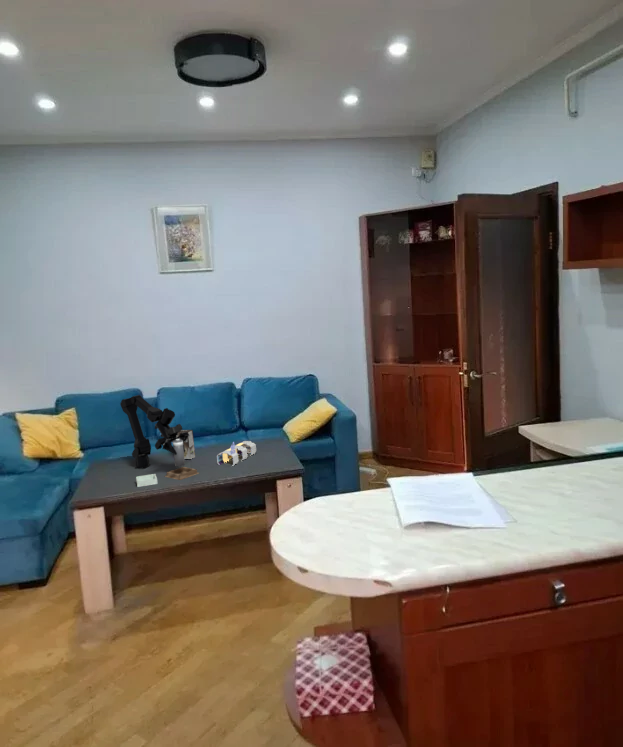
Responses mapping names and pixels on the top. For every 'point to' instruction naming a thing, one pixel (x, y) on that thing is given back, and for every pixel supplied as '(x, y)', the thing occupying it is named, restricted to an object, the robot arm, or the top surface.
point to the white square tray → (146, 480)
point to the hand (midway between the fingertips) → (180, 453)
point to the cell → (179, 452)
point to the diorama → (237, 452)
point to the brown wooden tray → (181, 473)
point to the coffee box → (188, 445)
